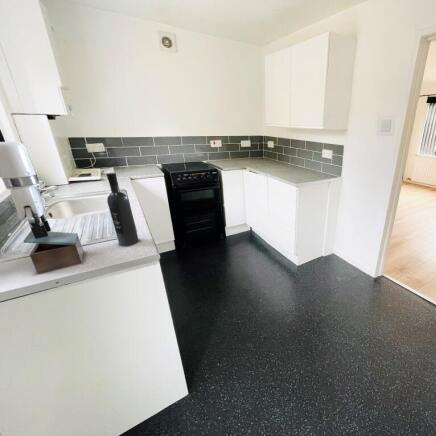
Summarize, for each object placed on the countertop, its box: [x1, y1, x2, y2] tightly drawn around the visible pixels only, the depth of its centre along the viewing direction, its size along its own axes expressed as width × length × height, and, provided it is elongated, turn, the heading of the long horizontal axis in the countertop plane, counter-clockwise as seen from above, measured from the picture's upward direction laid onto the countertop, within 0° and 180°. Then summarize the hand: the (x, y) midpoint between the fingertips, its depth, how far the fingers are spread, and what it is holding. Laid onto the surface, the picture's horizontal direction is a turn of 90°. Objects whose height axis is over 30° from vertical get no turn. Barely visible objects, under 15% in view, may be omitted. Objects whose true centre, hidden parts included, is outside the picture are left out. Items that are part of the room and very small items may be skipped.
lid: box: [23, 222, 79, 245], centre depth 85 cm, size 12×11×5 cm
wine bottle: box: [106, 172, 140, 247], centre depth 98 cm, size 6×6×30 cm
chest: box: [29, 235, 85, 275], centre depth 88 cm, size 12×11×8 cm
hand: (43, 234), depth 84 cm, fingers closed on lid, 5 cm apart
